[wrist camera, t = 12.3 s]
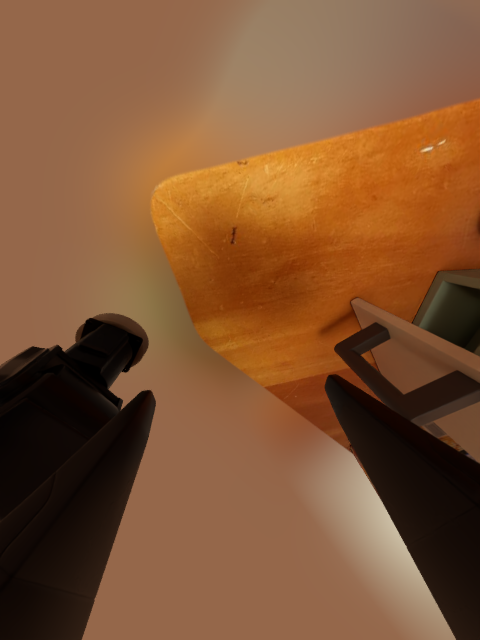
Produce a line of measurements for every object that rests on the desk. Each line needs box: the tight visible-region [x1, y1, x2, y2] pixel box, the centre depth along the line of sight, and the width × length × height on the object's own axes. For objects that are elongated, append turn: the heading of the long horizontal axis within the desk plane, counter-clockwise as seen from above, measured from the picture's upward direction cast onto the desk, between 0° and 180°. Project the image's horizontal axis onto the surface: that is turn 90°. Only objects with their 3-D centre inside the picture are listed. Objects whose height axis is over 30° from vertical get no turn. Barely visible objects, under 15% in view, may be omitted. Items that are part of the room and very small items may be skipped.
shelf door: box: [334, 298, 480, 463], centre depth 20 cm, size 6×17×14 cm, turn 36°
